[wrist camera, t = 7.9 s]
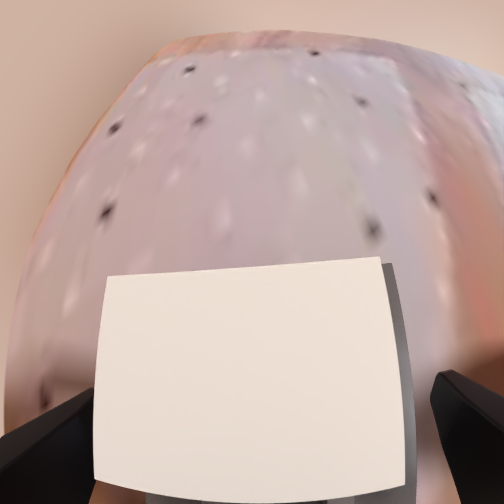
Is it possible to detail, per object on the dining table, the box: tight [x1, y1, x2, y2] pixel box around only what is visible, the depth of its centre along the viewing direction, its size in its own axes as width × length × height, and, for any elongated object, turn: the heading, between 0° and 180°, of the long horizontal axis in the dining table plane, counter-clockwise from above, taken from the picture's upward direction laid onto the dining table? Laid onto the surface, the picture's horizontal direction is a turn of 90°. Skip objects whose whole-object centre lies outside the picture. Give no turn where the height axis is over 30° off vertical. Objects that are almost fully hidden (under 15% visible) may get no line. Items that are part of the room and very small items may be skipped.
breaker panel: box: [145, 263, 417, 504], centre depth 11 cm, size 17×12×5 cm
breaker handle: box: [93, 256, 405, 503], centre depth 7 cm, size 3×4×10 cm
